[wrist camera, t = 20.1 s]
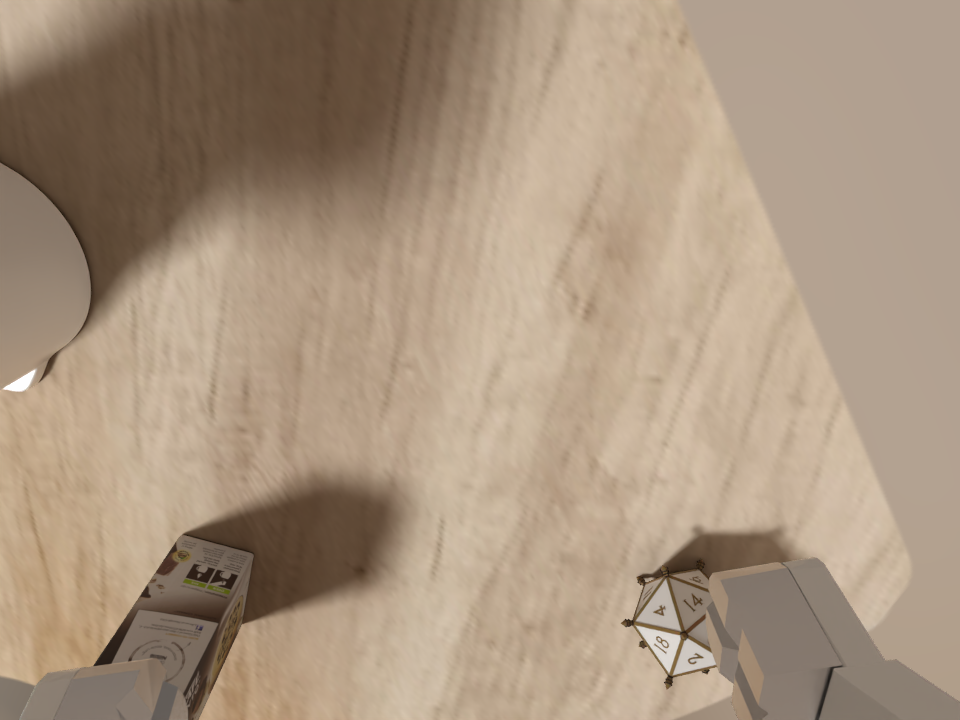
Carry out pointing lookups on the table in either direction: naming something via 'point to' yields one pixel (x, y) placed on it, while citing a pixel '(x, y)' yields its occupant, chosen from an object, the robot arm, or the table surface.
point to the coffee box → (187, 617)
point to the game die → (675, 621)
